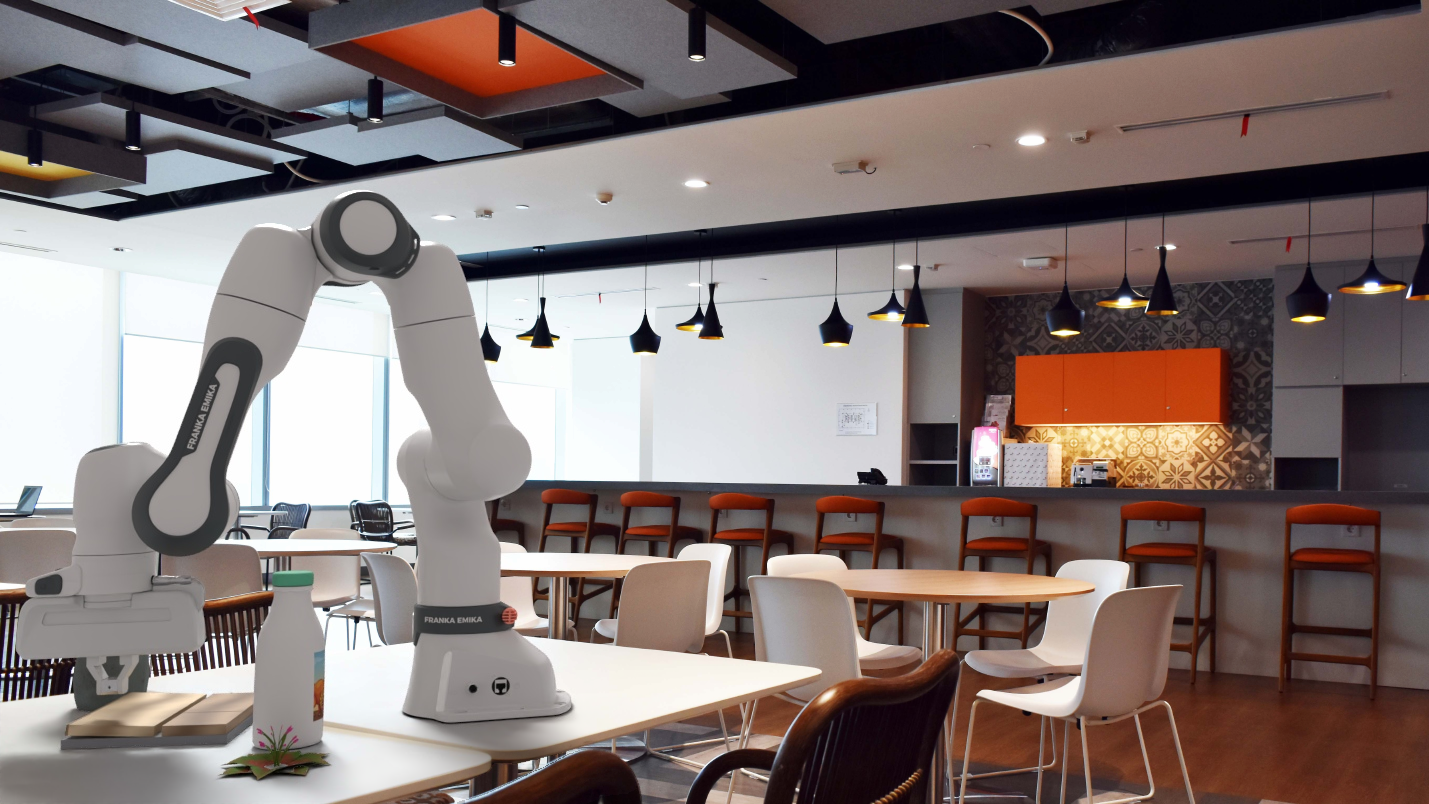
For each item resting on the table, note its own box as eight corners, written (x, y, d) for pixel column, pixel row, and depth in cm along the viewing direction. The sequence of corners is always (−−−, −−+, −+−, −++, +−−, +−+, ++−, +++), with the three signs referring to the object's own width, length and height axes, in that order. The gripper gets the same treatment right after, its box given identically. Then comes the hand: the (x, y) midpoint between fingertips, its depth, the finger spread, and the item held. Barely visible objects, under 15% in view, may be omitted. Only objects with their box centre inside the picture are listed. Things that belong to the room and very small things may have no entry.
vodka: (54, 710, 143) (65, 486, 145) (112, 697, 152) (122, 486, 154) (108, 714, 140) (118, 486, 142) (164, 701, 149) (173, 486, 151)
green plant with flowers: (347, 756, 121) (349, 714, 122) (316, 784, 109) (318, 739, 110) (239, 757, 120) (241, 715, 121) (195, 786, 108) (198, 740, 109)
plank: (205, 702, 143) (206, 693, 143) (153, 736, 124) (154, 726, 124) (130, 701, 142) (131, 692, 142) (64, 735, 122) (66, 724, 122)
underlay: (270, 708, 144) (270, 700, 145) (227, 743, 125) (227, 734, 125) (127, 712, 142) (128, 704, 142) (60, 749, 122) (60, 740, 122)
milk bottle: (298, 753, 120) (304, 574, 122) (237, 749, 122) (243, 573, 123) (335, 737, 128) (340, 569, 129) (277, 734, 129) (283, 568, 131)
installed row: (268, 701, 144) (268, 691, 144) (226, 734, 125) (226, 723, 125) (213, 702, 143) (213, 693, 143) (161, 736, 124) (161, 725, 124)
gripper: (213, 571, 133) (212, 684, 132) (36, 577, 130) (34, 692, 129) (196, 576, 127) (195, 694, 126) (10, 582, 124) (7, 703, 123)
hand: (112, 693), depth 128 cm, fingers closed
